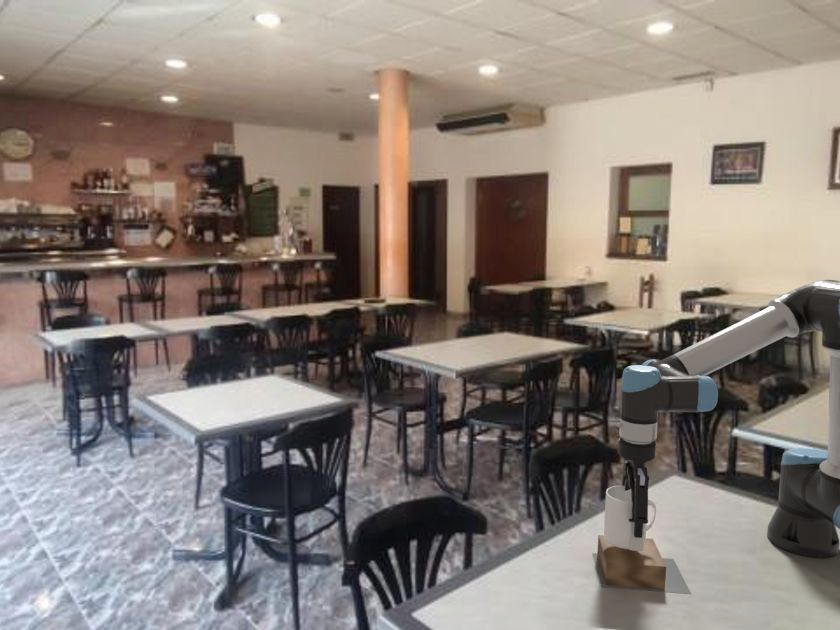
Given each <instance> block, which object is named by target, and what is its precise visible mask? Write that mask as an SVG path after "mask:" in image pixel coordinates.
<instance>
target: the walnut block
mask: <svg viewBox="0 0 840 630" xmlns="http://www.w3.org/2000/svg"><path fill="white" fill-rule="evenodd" d="M596 554H597V556H598V560H599V563H600V567H601V570H602V574H603V577H604V581H605V584H606V585H617V586H630V587H643V588H656V589H665V579H666V565H665V563H664V561H663V559H662V558H663V557H662V554H661V553H660V551H659V549H658V546H657V544H656V542H655V540H654V538H645V543H644V545H643V551H634V550H630V549H623V548H618V547H616V546H613V545H611V544H610V543H609V542H608V541H607V540H606V539H605V536H604V534H603V535H601V534H600V535H599V534H598V538H597V553H596Z"/></svg>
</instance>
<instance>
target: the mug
mask: <svg viewBox="0 0 840 630" xmlns="http://www.w3.org/2000/svg"><path fill="white" fill-rule="evenodd" d="M604 505H605V507H604V528H603V536H605V539H606V540H607V541H608V542H609V543H610V544H611V545H613V546H616V547H618V548H623V549H629V541H630V524H631V522H629V519H632V497H631V489H630V490H627V491H625V486H621V485H613V486H610V487H608V488H606V490H605V504H604ZM648 506H651V508H652V510H653V516H652V518H651V520H649V521H648V523H647V524H645V528H644V543H645V538H646V535H647V531H649V530H650V529H651V528H652V526H653V524H655V520H656V516H657V507H656V504H655V502H654V501H653V500H652V499H651V498H649V497H648Z"/></svg>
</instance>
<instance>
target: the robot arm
mask: <svg viewBox="0 0 840 630" xmlns="http://www.w3.org/2000/svg"><path fill="white" fill-rule="evenodd" d="M808 332H809V333H811V332H821V339H822V340H821V346H822V348H823V349H824V350H825V351H826V352H828V354H829V382H828V383H829V385H828V386H829V387H828V392H829V393H828V430H827V431H828V432H827V433H828V434H827V435H828V437H827V438H828V439H827V450H822V449H815V448H803V447H802V448H798V447H797V448H790V449H787V450H785V451H784V452H783V454H782V458H781V462H780V476H779V478H780V479H779V488H778V489H779V490H778V500H777V507H776V509H775V511H774V513H773V515H772V517H771V519H770V521H769V522H768V525H767V531H766V532H767V533H766V536H767V538H768V540H769V541H770V542H771V543H773V544H774V545H775V546H777V547H779V548H781V549H783V550H784V551H785V550H786V551H787V552H789V553H794V554H797V555H800V556H804V557H810V558H825V559H826V558H832V557H835V556H837V555H838V554H839V553H840V552H839V551H840V537H839V534H838V530H840V280H836V279H835V280H833V279H823V280H816V281H814V282H810V283H807V284H804V285H802V286H800V287H797V288H794V289H793V290H790V291H788V292H786V293H784V294H781V295H780V296H777V297H776V298H774V299H772V300H770V301H768V305H767V307H765V308H764V309H762V310H760V311H757V312H756V313H754V314H752V315H750V316H748V317H745V318H744V319H742V320H740V321H738V322H735V323H734V324H732V325H730V326H728V327H726V328H724V329H722V330H719V331H718V332H716V333H714V334H711V335H710V336H708V337H706V338H703V339H702V340H699V341H698V342H696V343H694V344H692V345H690V346H688V347H686V348H684V349H682V350H680V351H678V352H676V353H674V354H672V355H669V356H668V357H665V358H663V359H661V360H659V359H648V360H646V361H644V362H643V363H642V364H634V365H633V364H632V365H629V366H627V367H625V368H624V369H623V371H622V376H621V383H620V415H619V418H620V419H619V421H620V422H617V423H616V427H617V428H619V432H618V433H619V434H618V435H619V436H620V437H619V438H618V444H617V445H618V446H617V449H618V450H617V453H618V455H619V456H620V457H621V458H622V459H623V467H622V468H623V469H622V477H621V485H620V486H625V491H627V490H630V489H631V497H632V519H629V522H631V524H630V541H629V549H630V550H634V551H643V545H644V528H645V524H647V523H649V519H648V518H649V514H648V513H649V505H648V498H649V481H650V477H649V475H648V468H647V467H646V465H645V463H647V462H651V461H653V460H654V459H655V458H656V451H657V449H656V448H657V443H656V440H657V438H658V437H657V435H658V423H659V421H658V416H659V413H700V412H701V413H703V412H711V411H712V410H714V409H715V407H716V406H717V404H718V400H719V399H718V398H719V390H718V386H717V384H716V382H715V380H714V379H713V378H712V377H710V376H709V375H710V374H711V373H713V372H716V371H718V370H720V369H722V368H724V367H725V366H727V365H730V364H733V363H734V362H736V361H738V360H740V359H743V358H744V357H746V356H748V355H751V354H752V353H754V352H756V351H759V350H761V349H763V348H765V347H767V346H768V345H771V344H773V343H775V342H777V341H779V340H781V339H784V338H785V337H788V338H795V337H796V338H797V337H798V336H800V335H802V334H805V333H808ZM837 529H838V530H837Z"/></svg>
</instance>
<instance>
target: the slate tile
mask: <svg viewBox="0 0 840 630" xmlns="http://www.w3.org/2000/svg"><path fill="white" fill-rule="evenodd" d="M591 554H592V557H593V558H592V559H593V560H594V566H595V569H596V572H597V576H598V580H599V583H600V587H601V588H605V589H606V588H607V589H608V588H609V589H618V590H619V589H622V590H632V591H633V590H634V591H635V590H636V591H645V592H646V591H647V592H659V593H673V594H684V595H685V594H686V595H692V592H691V591H690V588H689V587H688V584H687V583H686V581H685V579H684V577H683V574H682V573H681V571H680V569H679V567H678V564H676V561H675V559H674V558H664V557H662V559H663V561H664V563H665V565H666V579H665V589H656V588H643V587H630V586H617V585H606V584H605V581H604V577H603V574H602V570H601V567H600V563H599V560H598V556H597V553H595V552H593V553H591Z"/></svg>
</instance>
